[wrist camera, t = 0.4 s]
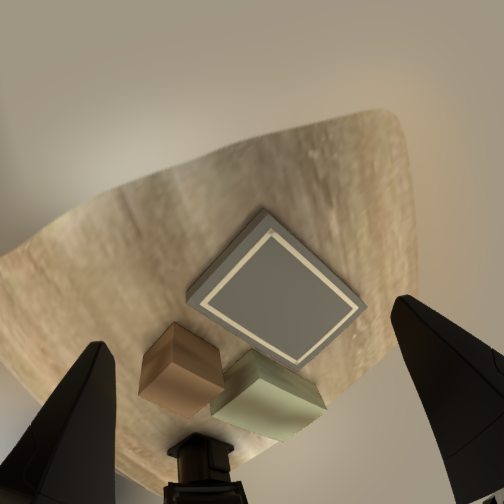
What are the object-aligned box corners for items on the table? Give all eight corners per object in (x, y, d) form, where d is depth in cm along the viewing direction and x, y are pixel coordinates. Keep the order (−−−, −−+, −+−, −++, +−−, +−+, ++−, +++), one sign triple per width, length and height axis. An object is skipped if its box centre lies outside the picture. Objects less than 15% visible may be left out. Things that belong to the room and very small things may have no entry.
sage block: (274, 416, 33) (282, 442, 29) (207, 386, 29) (211, 416, 26) (315, 384, 32) (327, 410, 28) (251, 348, 28) (259, 378, 24)
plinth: (293, 361, 29) (297, 372, 28) (185, 293, 24) (185, 303, 23) (360, 298, 28) (368, 307, 26) (263, 208, 23) (268, 214, 21)
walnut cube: (186, 379, 28) (188, 418, 23) (143, 355, 26) (138, 395, 22) (218, 349, 27) (225, 389, 23) (174, 322, 25) (172, 362, 21)
